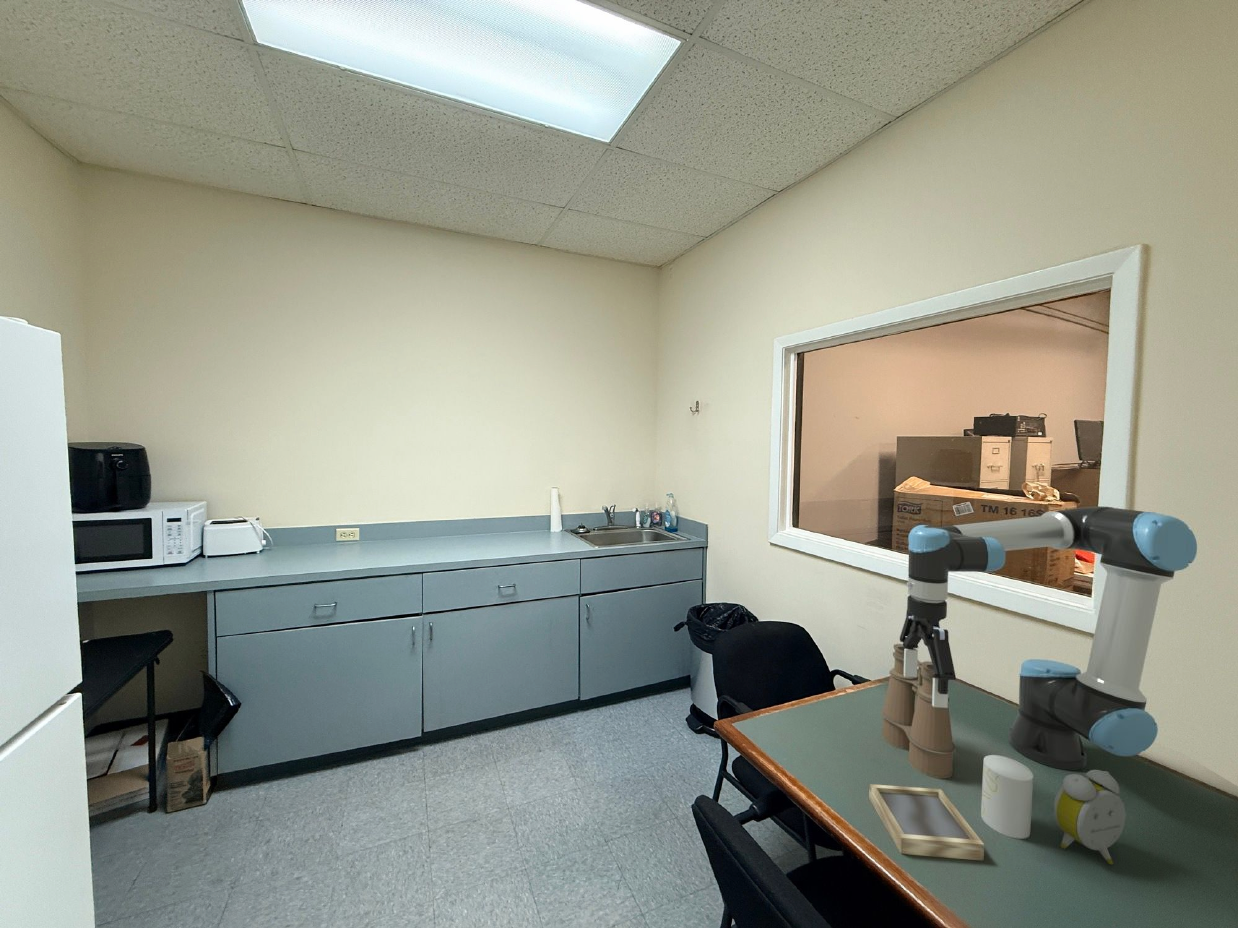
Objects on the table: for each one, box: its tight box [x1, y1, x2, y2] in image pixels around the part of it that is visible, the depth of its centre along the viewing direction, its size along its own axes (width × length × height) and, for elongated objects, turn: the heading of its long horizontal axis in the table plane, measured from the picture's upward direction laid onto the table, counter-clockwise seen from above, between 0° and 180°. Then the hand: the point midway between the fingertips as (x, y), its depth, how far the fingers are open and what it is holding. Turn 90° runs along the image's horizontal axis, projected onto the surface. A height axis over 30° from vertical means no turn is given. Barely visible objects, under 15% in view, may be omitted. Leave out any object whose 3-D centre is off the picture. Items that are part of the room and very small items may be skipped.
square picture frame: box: [868, 783, 985, 862], centre depth 103 cm, size 15×15×3 cm
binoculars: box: [880, 643, 956, 779], centre depth 127 cm, size 21×10×25 cm, turn 6°
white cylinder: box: [980, 754, 1034, 840], centre depth 104 cm, size 8×8×12 cm
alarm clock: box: [1052, 769, 1127, 865], centre depth 97 cm, size 12×7×15 cm, turn 103°
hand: (924, 690), depth 112 cm, fingers open, 13 cm apart
